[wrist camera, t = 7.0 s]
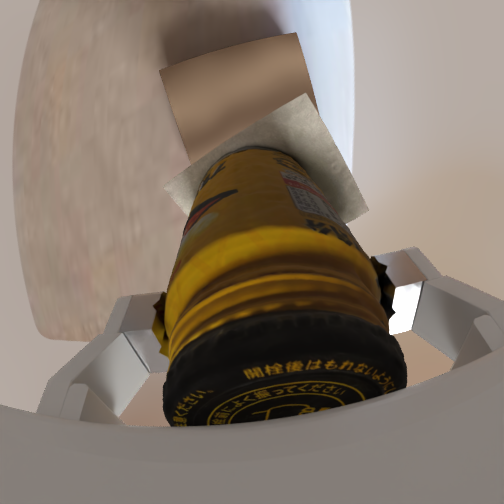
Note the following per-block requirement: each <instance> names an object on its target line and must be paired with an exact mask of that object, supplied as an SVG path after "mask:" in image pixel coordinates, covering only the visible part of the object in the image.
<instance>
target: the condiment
mask: <svg viewBox="0 0 504 504" xmlns="http://www.w3.org/2000/svg"><path fill="white" fill-rule="evenodd" d="M163 188H164V189H165V190H166V191H167V192H168V194H169V195H170V196H171V197H172V199H173V200H174V201H175V202H176V203H177V205H179V207H180V208H181V209H182V211H183V212H184V213H185V214H186V215H187V216H188V220H187V223H186V225H185V228H184V231H183V237H182V240H181V244H180V248H179V251H178V254H177V258H176V262H175V265H174V268H173V270H172V275H171V277H170V281H169V285H168V288H167V294H166V299H165V311H164V315H165V317H164V324H165V329H166V333H167V336H168V338H169V344H168V346H169V348H168V354H169V367H168V371H167V378H166V382H165V383H164V385H163V411H164V414H165V417H166V419H167V421H168V423H169V424H170V426H171V427H183V426H210V425H225V424H237V423H247V422H256V421H264V420H271V419H278V418H285V417H291V416H297V415H302V414H308V413H313V412H318V411H323V410H327V409H332V408H336V407H341V406H345V405H349V404H353V403H357V402H361V401H364V400H368V399H371V398H375V397H378V396H382V395H385V394H388V393H392V392H395V391H398V390H401V389H404V388H406V386H407V366H406V363H405V361H404V354H403V353H402V350H401V348H400V345H399V343H398V341H397V340H396V339H395V337H394V336H392V335H391V334H390V325H389V321H388V319H387V316H386V314H385V312H384V310H383V308H382V306H381V289H380V285H379V281H378V276H377V274H376V271H375V269H374V266H373V264H372V262H371V260H370V258H369V257H368V256H367V254H366V253H365V252H364V251H363V249H362V248H361V247H360V245H359V243H358V242H357V241H356V239H355V237H354V236H353V235H352V233H351V231H350V229H349V228H348V227H347V226H346V223H348V222H350V221H352V220H354V219H356V218H358V217H359V216H360V215H362V214H364V213H366V212H367V211H369V209H368V207H367V205H366V203H365V201H364V199H363V197H362V195H361V193H360V190H359V188H358V187H357V184H356V182H355V181H354V178H353V176H352V174H351V172H350V170H349V169H348V167H347V165H346V163H345V161H344V159H343V157H342V155H341V153H340V151H339V149H338V148H337V146H336V145H335V143H334V140H333V139H332V137H331V135H330V133H329V131H328V129H327V127H326V126H325V124H324V122H323V121H322V119H321V117H320V116H319V114H318V112H317V110H316V109H315V107H314V105H313V104H312V102H311V100H310V99H309V97H308V95H307V94H306V93H304V94H302V95H301V96H299V97H297V98H295V99H294V100H292V101H290V102H288V103H287V104H285V105H283V106H281V107H280V108H278V109H276V110H275V111H273V112H272V113H270V114H268V115H266V116H265V117H263V118H262V119H260V120H258V121H257V122H255V123H254V124H252V125H250V126H249V127H247V128H245V129H244V130H242V131H241V132H239V133H238V134H236V135H234V136H233V137H231V138H230V139H228V140H227V141H225V142H224V143H222V144H221V145H219V146H218V147H216V148H215V149H213V150H212V151H211V152H209V153H208V154H206V155H205V156H203V157H202V158H200V159H199V160H198V161H196V162H195V163H193V164H192V165H191V166H189V167H188V168H187V169H185V170H184V171H183V172H181V173H180V174H178V175H177V176H176V177H174V178H173V179H172V180H170V181H169V182H168V183H167V184H165V185H164V186H163Z"/></svg>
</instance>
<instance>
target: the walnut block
mask: <svg viewBox="0 0 504 504" xmlns="http://www.w3.org/2000/svg"><path fill="white" fill-rule="evenodd" d="M159 72H160V75H161V78H162V81H163V84H164V87H165V90H166V93H167V96H168V99H169V102H170V105H171V108H172V111H173V114H174V117H175V120H176V123H177V125H178V128H179V131H180V134H181V137H182V140H183V143H184V146H185V148H186V151H187V154H188V157H189V160H190V163H191V165H192V164H193V163H195V162H196V161H198V160H199V159H200V158H202V157H203V156H205V155H206V154H208V153H209V152H211V151H212V150H213V149H215V148H216V147H218V146H219V145H221V144H222V143H224V142H225V141H227V140H228V139H230V138H231V137H233V136H234V135H236V134H238V133H239V132H241V131H242V130H244V129H245V128H247V127H249V126H250V125H252V124H254V123H255V122H257V121H258V120H260V119H262V118H263V117H265V116H266V115H268V114H270V113H272V112H273V111H275V110H276V109H278V108H280V107H281V106H283V105H285V104H287V103H288V102H290V101H292V100H294V99H295V98H297V97H299V96H301V95H302V94H304V93H306V94H307V95H308V97H309V99H310V100H311V102H312V104H313V105H314V107H315V109H316V110H317V112H318V108H317V104H316V100H315V96H314V92H313V88H312V84H311V80H310V77H309V73H308V70H307V66H306V63H305V59H304V56H303V52H302V49H301V46H300V43H299V39H298V36H297V33H296V32H295V33H289V34H284V35H278V36H273V37H268V38H263V39H259V40H254V41H250V42H246V43H242V44H238V45H234V46H230V47H227V48H223V49H220V50H216V51H213V52H210V53H206V54H203V55H200V56H197V57H194V58H191V59H188V60H185V61H182V62H180V63H177V64H174V65H172V66H169V67H166V68H164V69H161V70H159ZM318 114H319V112H318Z"/></svg>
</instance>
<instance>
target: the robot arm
mask: <svg viewBox="0 0 504 504" xmlns="http://www.w3.org/2000/svg"><path fill="white" fill-rule="evenodd" d="M370 260H371V262H372V264H373V266H374V269H375V271H376V274H377V276H378V281H379V285H380V289H381V306H382V308H383V310H384V312H385V314H386V316H387V319H388V321H389V325H390V334H395V333H399V332H403V331H407V330H411V329H412V331H413V332H414V333H416V334H417V335H418V336H420V337H421V338H423V339H424V340H426V341H427V342H428V343H430V344H431V345H432V346H434V347H435V348H437V349H438V350H439V351H441V352H442V353H443V354H445V355H446V356H448V357H449V358H450V359H452V360H453V361H454V363H453V365H452V367H451V369H450V371H449V372H447V373H444V374H442V375H439V376H437V377H434V378H432V379H429V380H426V381H424V382H421V383H418V384H415V385H413V386H410V387H407V388H404V389H401V390H398V391H395V392H392V393H388V394H385V395H382V396H378V397H375V398H371V399H368V400H364V401H361V402H357V403H353V404H349V405H345V406H341V407H336V408H332V409H327V410H323V411H318V412H313V413H308V414H302V415H297V416H291V417H285V418H278V419H271V420H264V421H256V422H247V423H237V424H225V425H210V426H183V427H156V426H130V425H126V424H125V423H124V422H123V421H122V420H121V419H120V418H119V416H120V415H121V413H122V412H123V411H124V409H125V408H126V406H127V405H128V404H129V402H130V401H131V400H132V398H133V397H134V396H135V394H136V393H137V392H138V390H139V389H140V388H141V386H142V385H143V384H144V382H145V381H146V380H147V378H148V377H149V375H150V374H149V373H160V372H167V371H168V367H169V354H168V348H169V346H168V344H169V338H168V336H167V333H166V329H165V324H164V317H165V315H164V311H165V299H166V294H167V293H165V292H164V291H163V292H155V293H147V294H138V295H131V296H123V297H120V298H118V299H117V301H116V304H115V306H114V308H113V311H112V313H111V315H110V318H109V320H108V323H107V325H106V328H105V330H104V333H103V334H99V335H98V336H97V337H95V338H94V339H93V340H92V341H91V342H90V343H89V344H88V345H86V346H85V347H84V348H83V349H82V350H81V351H80V352H79V353H78V354H77V355H76V356H74V358H72V359H71V360H70V361H69V362H68V363H67V364H66V365H65V366H63V367H62V368H61V369H60V370H59V371H58V372H57V373H56V374H55V375H54V376H53V377H51V378H50V379H49V380H48V383H47V386H46V388H45V390H44V393H43V396H42V399H41V401H40V404H39V407H38V409H37V412H36V413H32V412H28V411H24V410H19V409H15V408H11V407H8V406H4V405H0V504H504V301H502V300H500V299H498V298H496V297H494V296H491V295H490V294H487V293H485V292H483V291H481V290H479V289H476V288H474V287H472V286H470V285H467V284H465V283H463V282H461V281H458V280H456V279H454V278H451V277H449V276H442V275H441V274H440V273H439V271H437V269H436V268H435V267H434V266H433V264H432V263H431V262H430V261H429V260H428V259H427V258H426V256H424V254H423V253H422V252H421V251H420V250H419V249H418V248H417V247H411V248H406V249H402V250H400V251H396V252H391V253H386V254H381V255H376V256H371V258H370Z"/></svg>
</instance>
